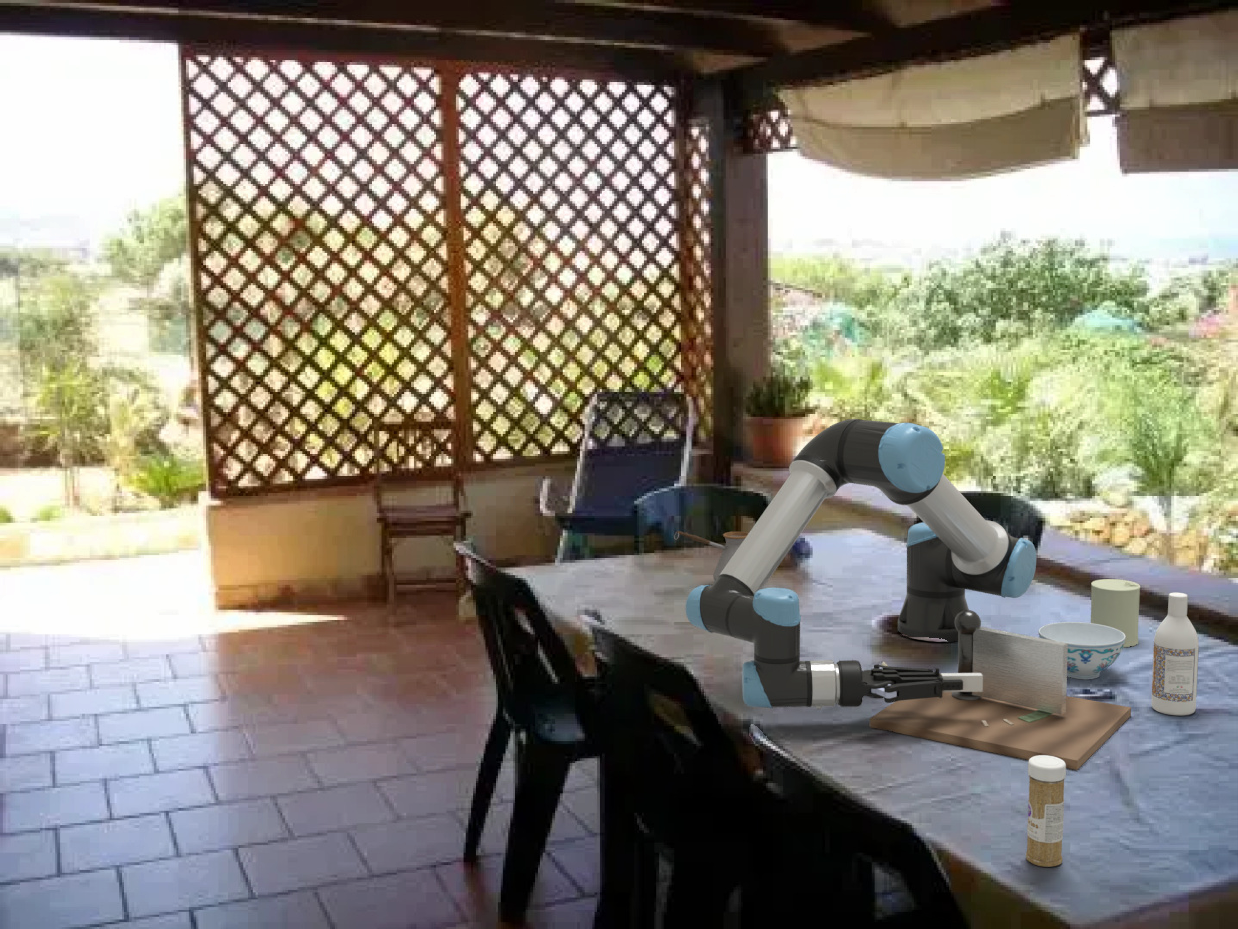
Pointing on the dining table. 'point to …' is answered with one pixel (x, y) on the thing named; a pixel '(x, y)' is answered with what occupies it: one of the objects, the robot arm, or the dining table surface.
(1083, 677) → the chinaware
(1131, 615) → the can
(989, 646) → the panel with knobbed post
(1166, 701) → the bath foam
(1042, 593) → the dining table surface
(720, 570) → the coffee pot
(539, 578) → the dining table surface
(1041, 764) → the sprinkles bottle
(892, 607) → the dining table surface
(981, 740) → the brown wooden cutting board
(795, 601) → the robot arm
